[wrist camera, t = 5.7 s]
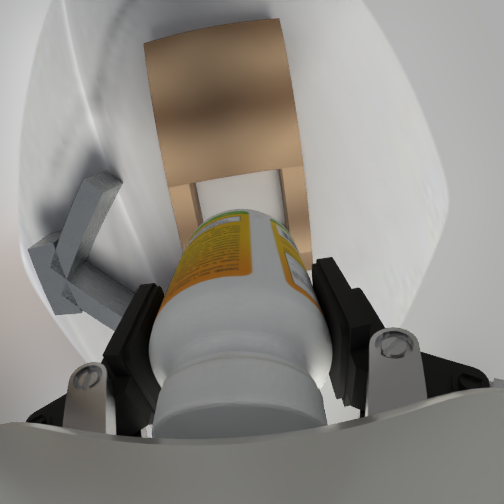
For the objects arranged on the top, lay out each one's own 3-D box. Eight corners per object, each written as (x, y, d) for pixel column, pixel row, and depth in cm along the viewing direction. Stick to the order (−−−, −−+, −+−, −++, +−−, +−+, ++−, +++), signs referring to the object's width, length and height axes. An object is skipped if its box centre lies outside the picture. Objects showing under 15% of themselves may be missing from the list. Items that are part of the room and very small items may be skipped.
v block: (119, 167, 23) (98, 174, 19) (164, 321, 29) (155, 346, 25) (38, 193, 23) (13, 204, 19) (87, 326, 29) (73, 349, 25)
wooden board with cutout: (152, 51, 19) (143, 43, 17) (275, 28, 19) (279, 18, 16) (196, 273, 27) (192, 287, 24) (307, 256, 26) (313, 269, 24)
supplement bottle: (176, 291, 15) (121, 465, 6) (201, 191, 13) (119, 338, 4) (274, 317, 16) (298, 491, 7) (314, 226, 14) (408, 391, 5)
